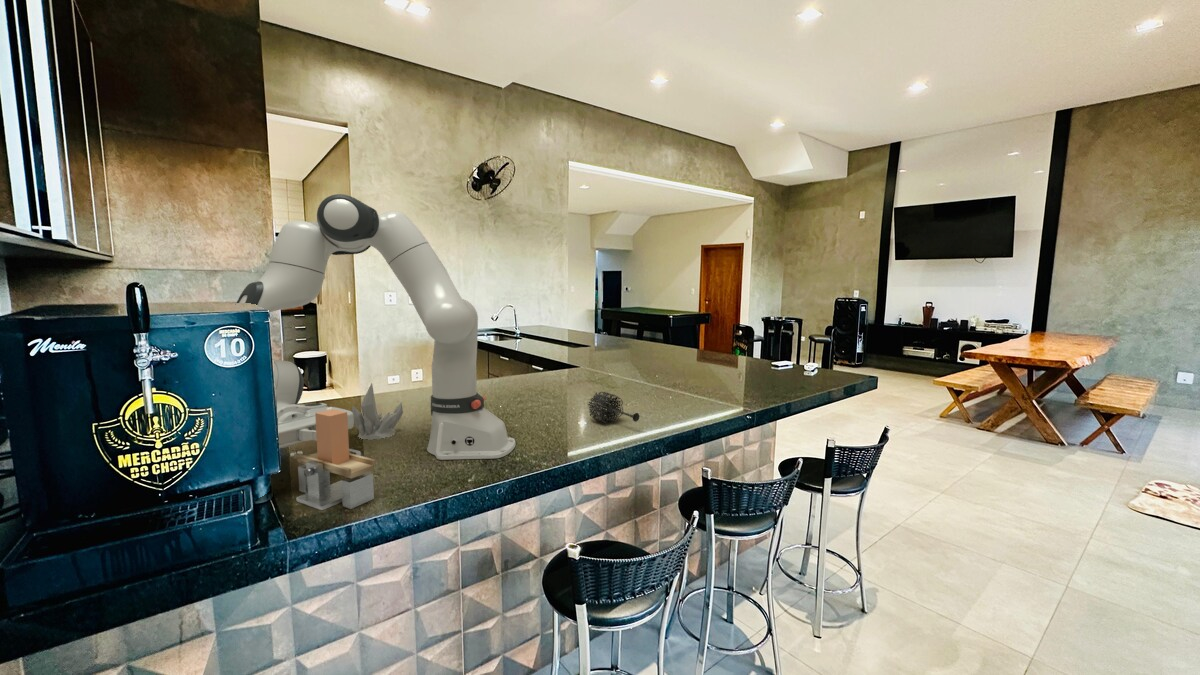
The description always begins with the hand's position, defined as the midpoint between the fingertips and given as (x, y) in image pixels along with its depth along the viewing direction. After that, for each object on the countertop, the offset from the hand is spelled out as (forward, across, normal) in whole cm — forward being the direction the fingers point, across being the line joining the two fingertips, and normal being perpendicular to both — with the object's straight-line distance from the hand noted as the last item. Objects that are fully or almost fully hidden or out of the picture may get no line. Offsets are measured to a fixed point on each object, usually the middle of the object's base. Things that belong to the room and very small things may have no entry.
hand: (325, 435), depth 96 cm
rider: (+2, 0, +5) cm, 6 cm away
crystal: (-24, +31, +12) cm, 41 cm away
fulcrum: (+2, 0, +12) cm, 12 cm away
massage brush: (+29, +72, +12) cm, 79 cm away
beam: (+2, 0, +6) cm, 6 cm away
